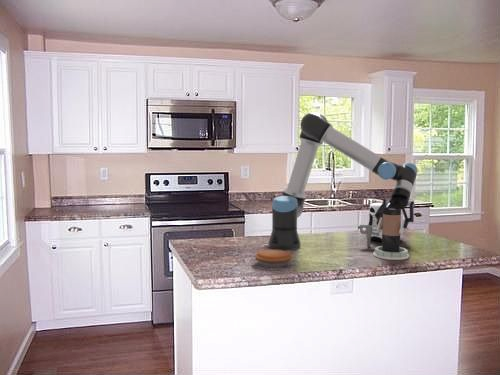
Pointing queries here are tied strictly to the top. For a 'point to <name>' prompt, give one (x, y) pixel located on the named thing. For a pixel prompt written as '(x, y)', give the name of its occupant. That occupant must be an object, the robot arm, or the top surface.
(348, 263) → the top surface
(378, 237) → the milk container
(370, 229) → the mechanical component
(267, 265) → the pie
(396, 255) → the pale green round dish
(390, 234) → the travel mug
